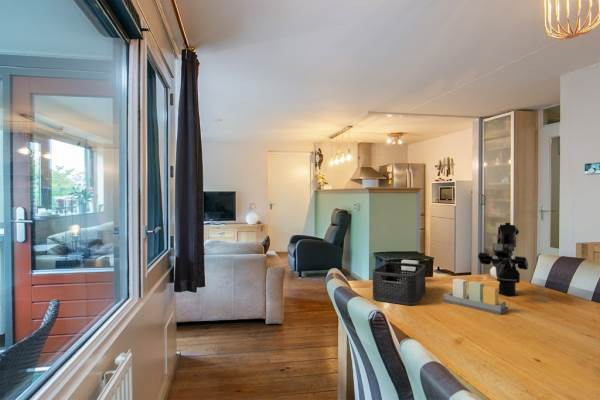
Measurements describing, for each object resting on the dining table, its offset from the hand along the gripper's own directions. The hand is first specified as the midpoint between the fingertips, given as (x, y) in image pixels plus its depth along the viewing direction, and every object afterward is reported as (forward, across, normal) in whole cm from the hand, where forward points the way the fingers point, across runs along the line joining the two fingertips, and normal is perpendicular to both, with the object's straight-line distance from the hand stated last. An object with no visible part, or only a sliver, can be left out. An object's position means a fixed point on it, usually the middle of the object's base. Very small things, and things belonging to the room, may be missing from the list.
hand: (497, 276), depth 148 cm
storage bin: (+22, -36, -4) cm, 43 cm away
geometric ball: (-25, -15, +43) cm, 52 cm away
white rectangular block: (+13, -13, +2) cm, 18 cm away
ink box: (+4, -46, +14) cm, 48 cm away
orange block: (+15, +1, -1) cm, 15 cm away
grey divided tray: (+15, -6, +2) cm, 16 cm away
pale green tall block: (+13, -6, +1) cm, 14 cm away
